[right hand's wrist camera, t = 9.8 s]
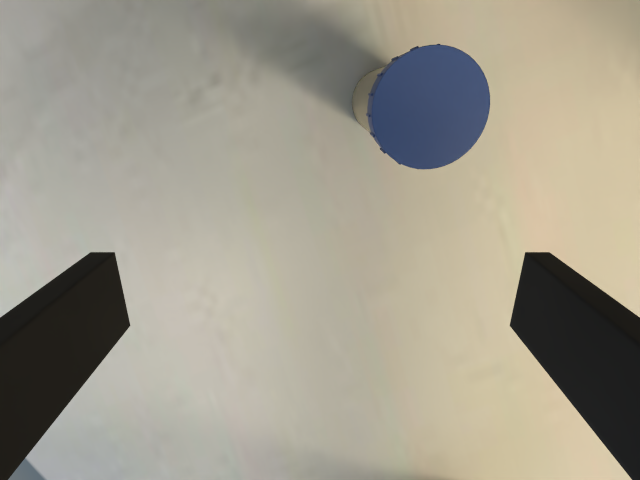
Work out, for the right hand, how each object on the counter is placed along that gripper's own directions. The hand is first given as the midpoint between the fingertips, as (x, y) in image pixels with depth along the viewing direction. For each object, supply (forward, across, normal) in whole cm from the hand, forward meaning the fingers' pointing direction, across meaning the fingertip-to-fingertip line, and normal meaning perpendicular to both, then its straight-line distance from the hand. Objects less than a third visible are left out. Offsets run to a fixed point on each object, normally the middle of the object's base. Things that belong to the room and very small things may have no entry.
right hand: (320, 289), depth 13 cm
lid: (+9, +5, +5) cm, 12 cm away
